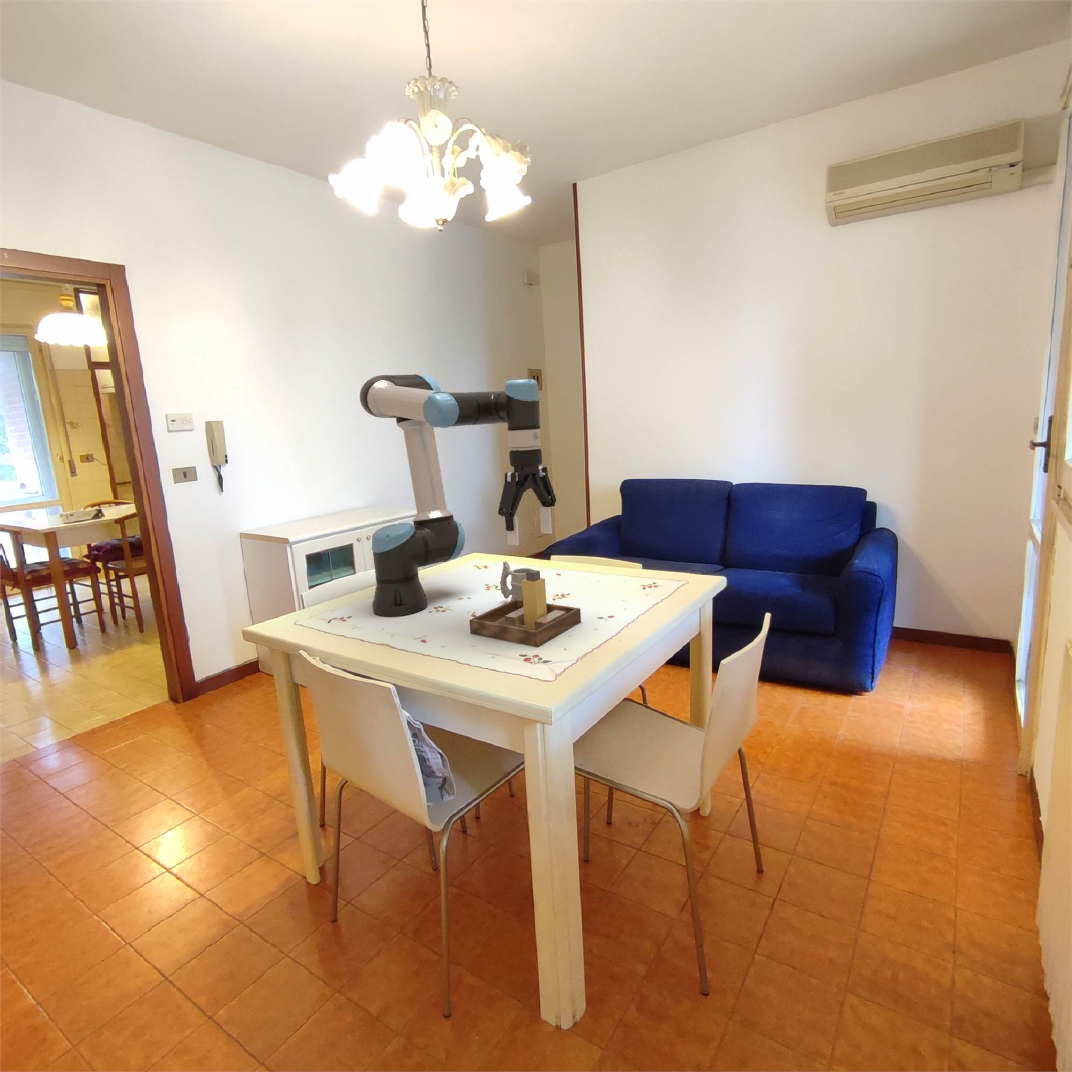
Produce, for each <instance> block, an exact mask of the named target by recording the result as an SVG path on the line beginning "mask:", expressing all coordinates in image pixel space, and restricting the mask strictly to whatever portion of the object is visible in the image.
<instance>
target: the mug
mask: <svg viewBox="0 0 1072 1072" xmlns="http://www.w3.org/2000/svg"><path fill="white" fill-rule="evenodd" d="M502 565H503V566H502V571H501V575H500V581H499V585H500V591H501V595H503V598H504V599H505V600H507V599H508V598H509V597H510V596H511V597H510V601H512V600H514V599H522V600H523V592H522V581H523V580H525V579H526V572H528V571H530V570H534V569H533V568H531V567H530V568H528V567H520V568H516V569H510V565H509V562H508V561H507V560H504V561H502ZM509 575H511V576H510V577H511V579H510V586H511V589H510V588H509V586H508V585H507V584H508V583H507V579H508V578H509Z"/></svg>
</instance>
